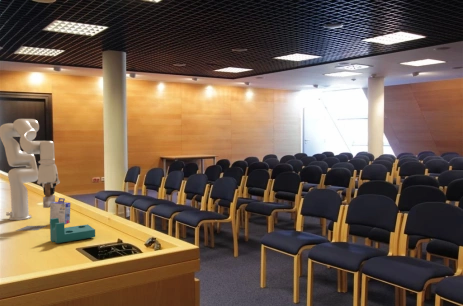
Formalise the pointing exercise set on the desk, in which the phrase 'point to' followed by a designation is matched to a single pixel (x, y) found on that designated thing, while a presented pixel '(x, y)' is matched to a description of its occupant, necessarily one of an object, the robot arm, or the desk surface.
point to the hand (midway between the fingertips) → (49, 194)
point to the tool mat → (31, 228)
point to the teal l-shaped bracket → (69, 232)
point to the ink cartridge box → (60, 211)
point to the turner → (48, 197)
